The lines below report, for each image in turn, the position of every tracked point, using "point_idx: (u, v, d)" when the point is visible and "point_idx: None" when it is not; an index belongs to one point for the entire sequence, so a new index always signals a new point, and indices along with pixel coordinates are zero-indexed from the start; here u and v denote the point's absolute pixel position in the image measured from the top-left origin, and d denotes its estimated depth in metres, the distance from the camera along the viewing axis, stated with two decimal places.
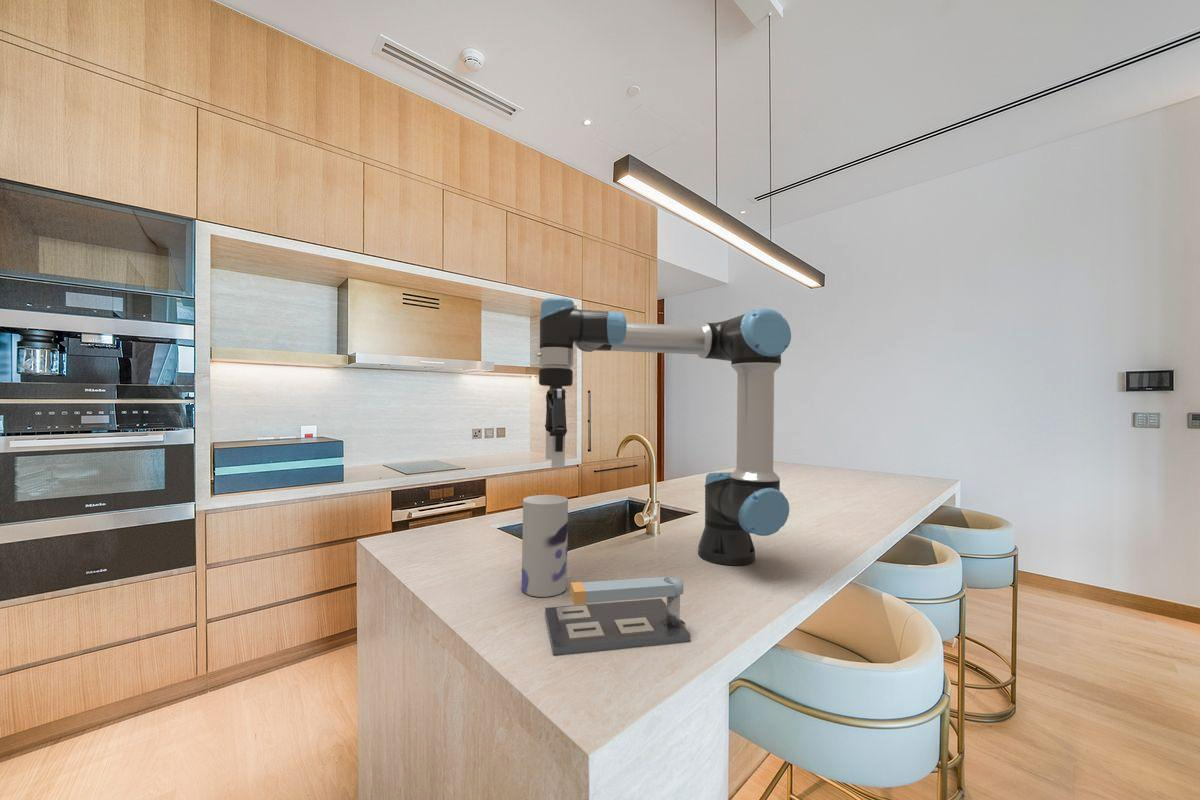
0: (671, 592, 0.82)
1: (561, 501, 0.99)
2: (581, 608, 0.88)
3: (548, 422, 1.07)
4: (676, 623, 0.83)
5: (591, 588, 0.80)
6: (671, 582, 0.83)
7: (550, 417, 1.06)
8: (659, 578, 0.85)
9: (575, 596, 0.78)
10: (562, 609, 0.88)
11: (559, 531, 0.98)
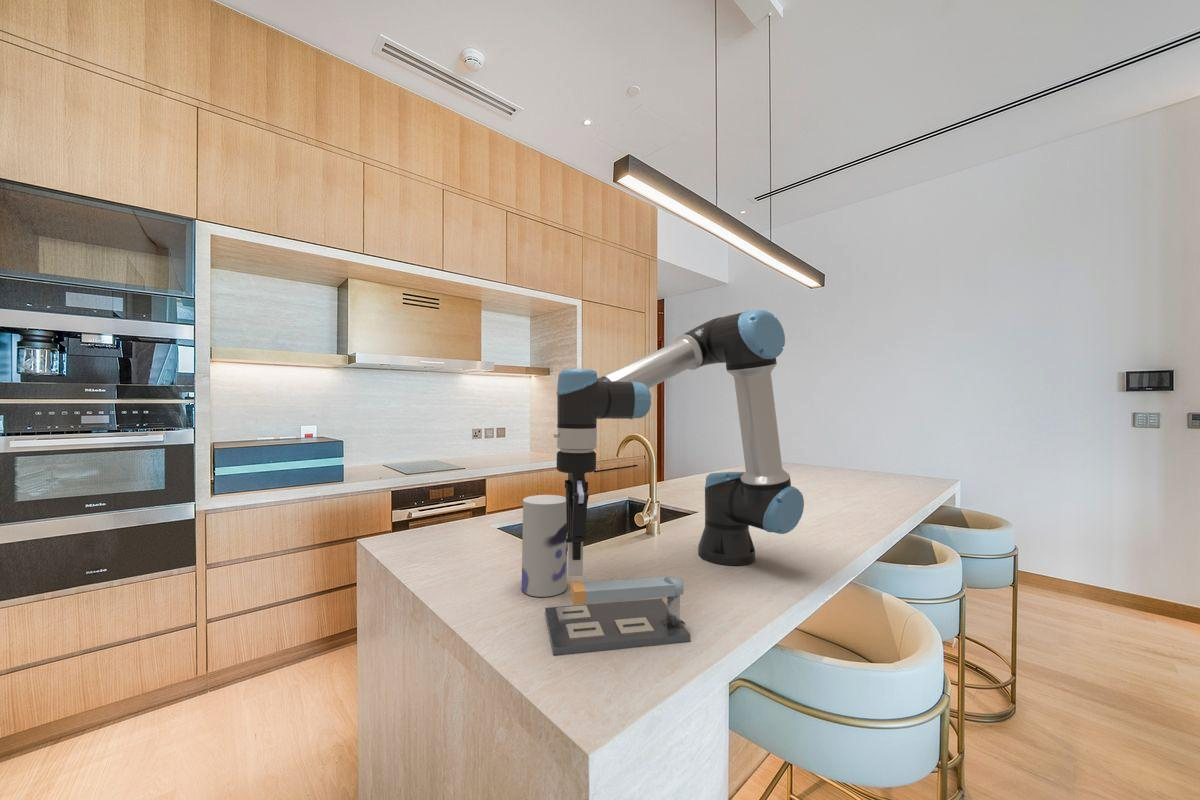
0: (671, 592, 0.82)
1: (561, 501, 0.99)
2: (581, 608, 0.88)
3: (570, 522, 0.87)
4: (676, 623, 0.83)
5: (591, 588, 0.80)
6: (671, 582, 0.83)
7: None
8: (659, 578, 0.85)
9: (575, 596, 0.78)
10: (562, 609, 0.88)
11: (559, 531, 0.98)
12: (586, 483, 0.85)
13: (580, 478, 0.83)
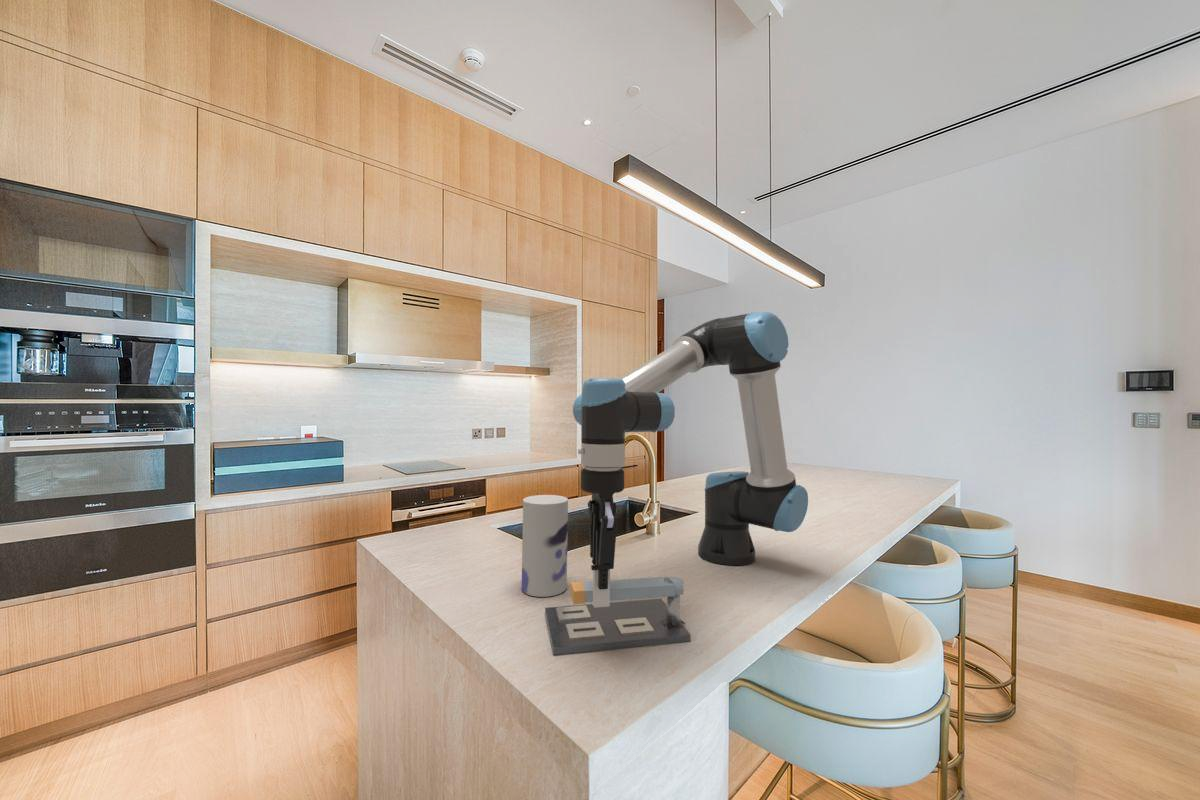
0: (671, 592, 0.82)
1: (561, 501, 0.99)
2: (581, 608, 0.88)
3: (595, 546, 0.79)
4: (676, 623, 0.83)
5: (591, 587, 0.80)
6: (671, 582, 0.83)
7: None
8: (659, 578, 0.85)
9: (575, 596, 0.78)
10: (562, 609, 0.88)
11: (559, 531, 0.98)
12: (614, 504, 0.77)
13: (608, 499, 0.75)
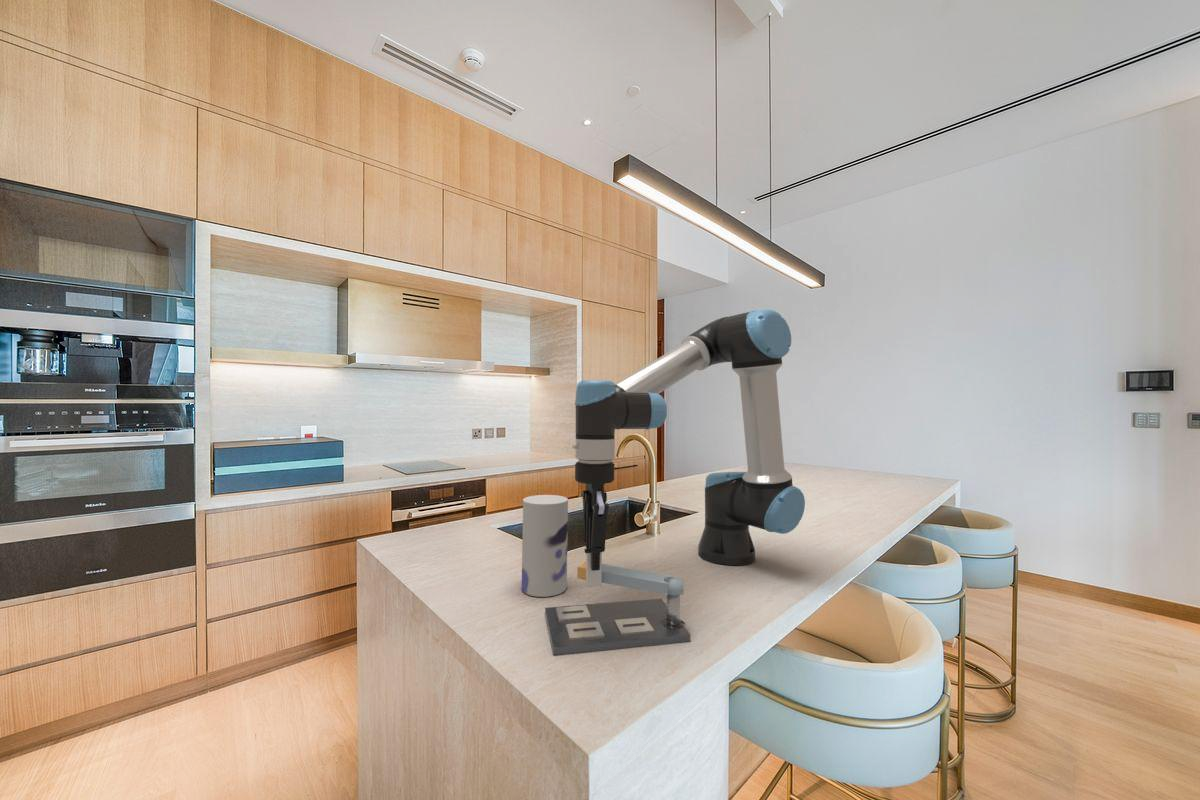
0: (664, 590, 0.82)
1: (561, 501, 0.99)
2: (581, 608, 0.88)
3: (588, 532, 0.87)
4: (676, 623, 0.83)
5: None
6: (667, 581, 0.83)
7: None
8: (663, 575, 0.86)
9: (578, 571, 0.90)
10: (562, 609, 0.88)
11: (559, 531, 0.98)
12: (605, 494, 0.86)
13: (599, 489, 0.83)
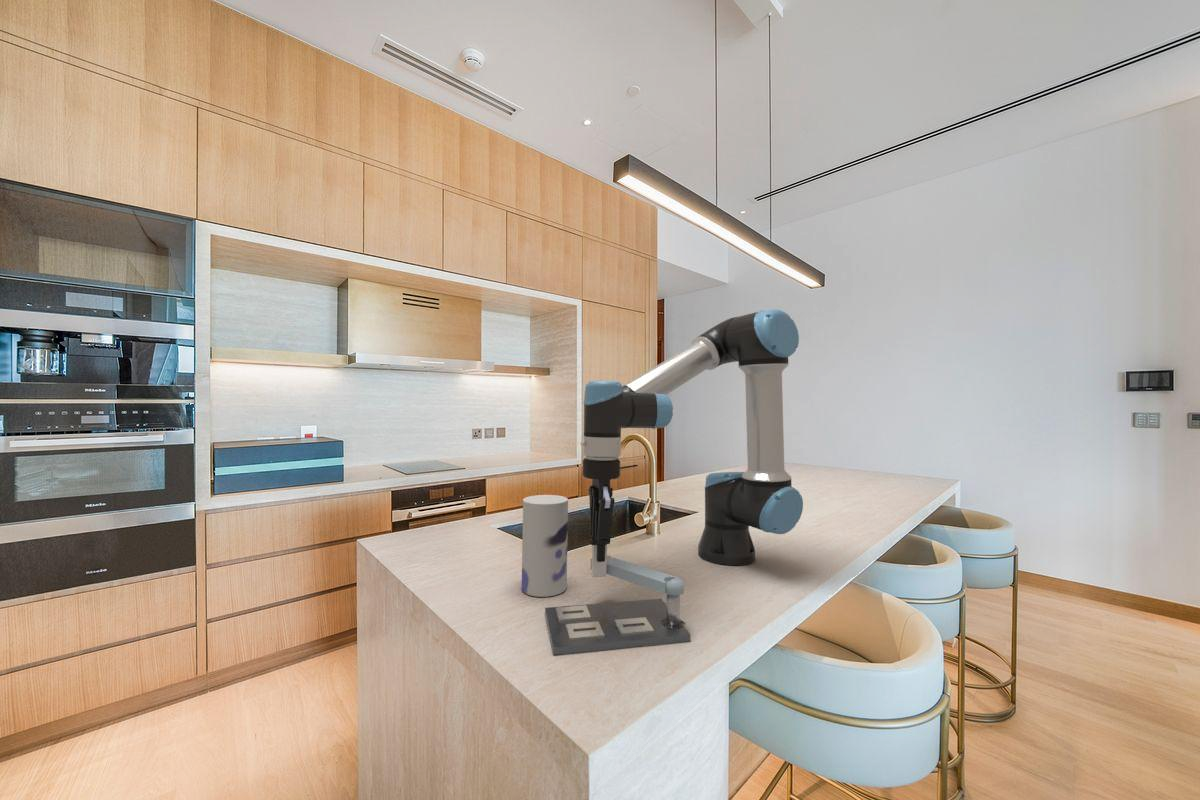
0: (662, 589, 0.83)
1: (561, 501, 0.99)
2: (581, 608, 0.88)
3: (594, 525, 0.92)
4: (676, 623, 0.83)
5: None
6: (666, 580, 0.84)
7: None
8: (667, 575, 0.86)
9: (591, 562, 0.94)
10: (562, 609, 0.88)
11: (559, 531, 0.98)
12: (611, 489, 0.90)
13: (606, 484, 0.88)
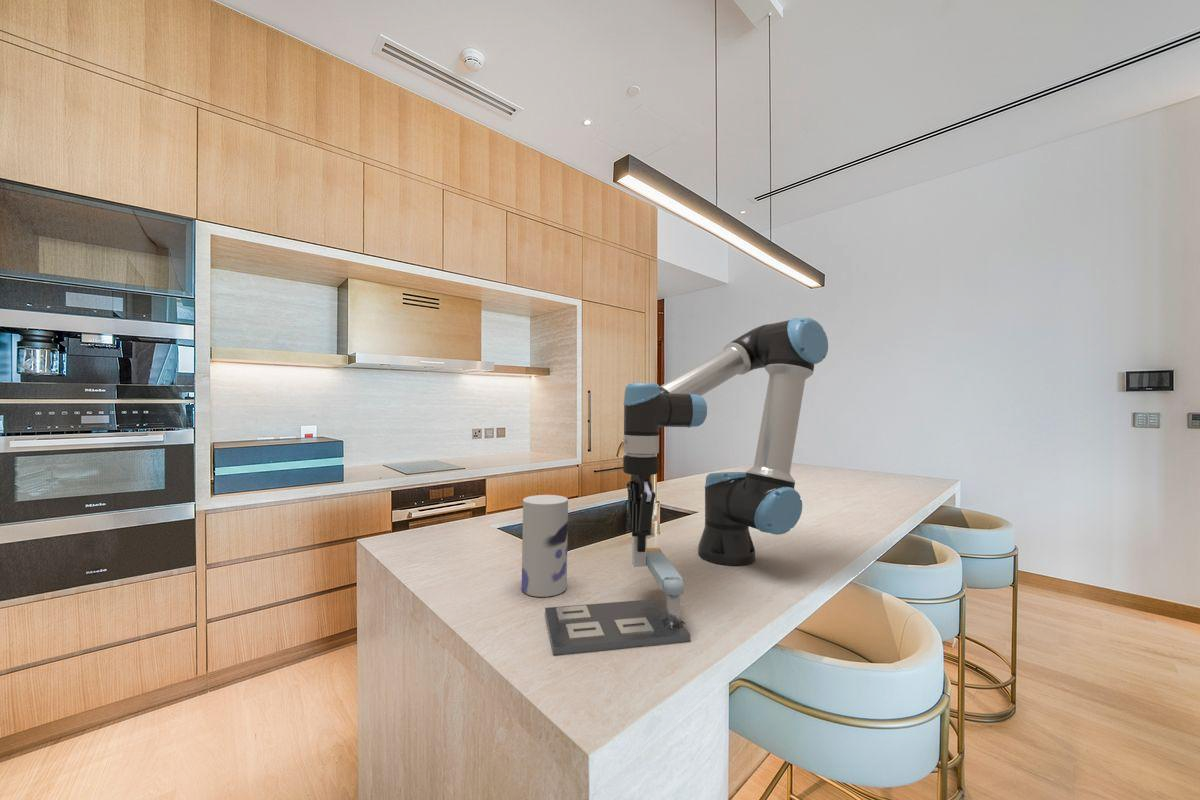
0: (661, 585, 0.85)
1: (561, 501, 0.99)
2: (581, 608, 0.88)
3: (634, 518, 0.98)
4: (676, 623, 0.83)
5: (649, 553, 0.99)
6: (667, 578, 0.84)
7: (636, 510, 0.98)
8: (677, 575, 0.86)
9: None
10: (562, 609, 0.88)
11: (559, 531, 0.98)
12: None
13: (646, 479, 0.94)
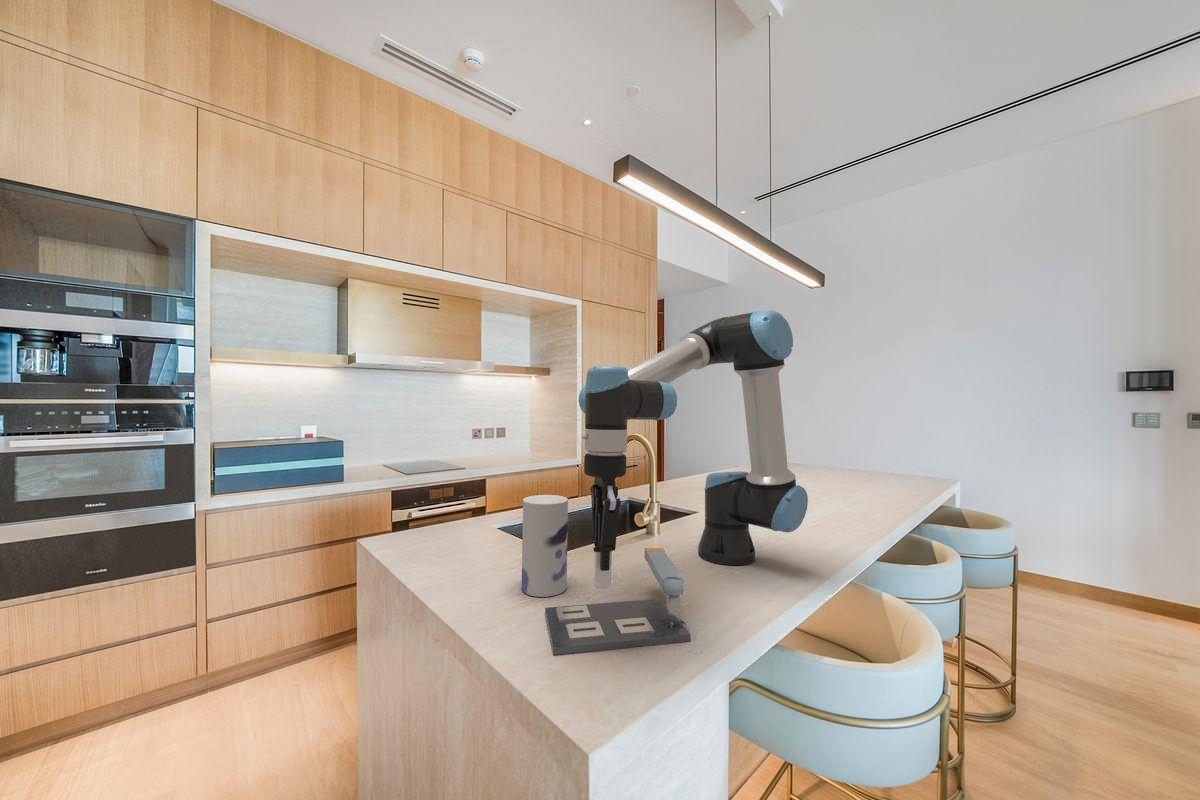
0: (661, 585, 0.85)
1: (561, 501, 0.99)
2: (581, 608, 0.88)
3: (597, 529, 0.81)
4: (676, 623, 0.83)
5: (652, 552, 0.99)
6: (667, 578, 0.85)
7: None
8: (677, 575, 0.86)
9: (644, 551, 1.02)
10: (562, 609, 0.88)
11: (559, 531, 0.98)
12: (616, 488, 0.80)
13: (611, 483, 0.77)
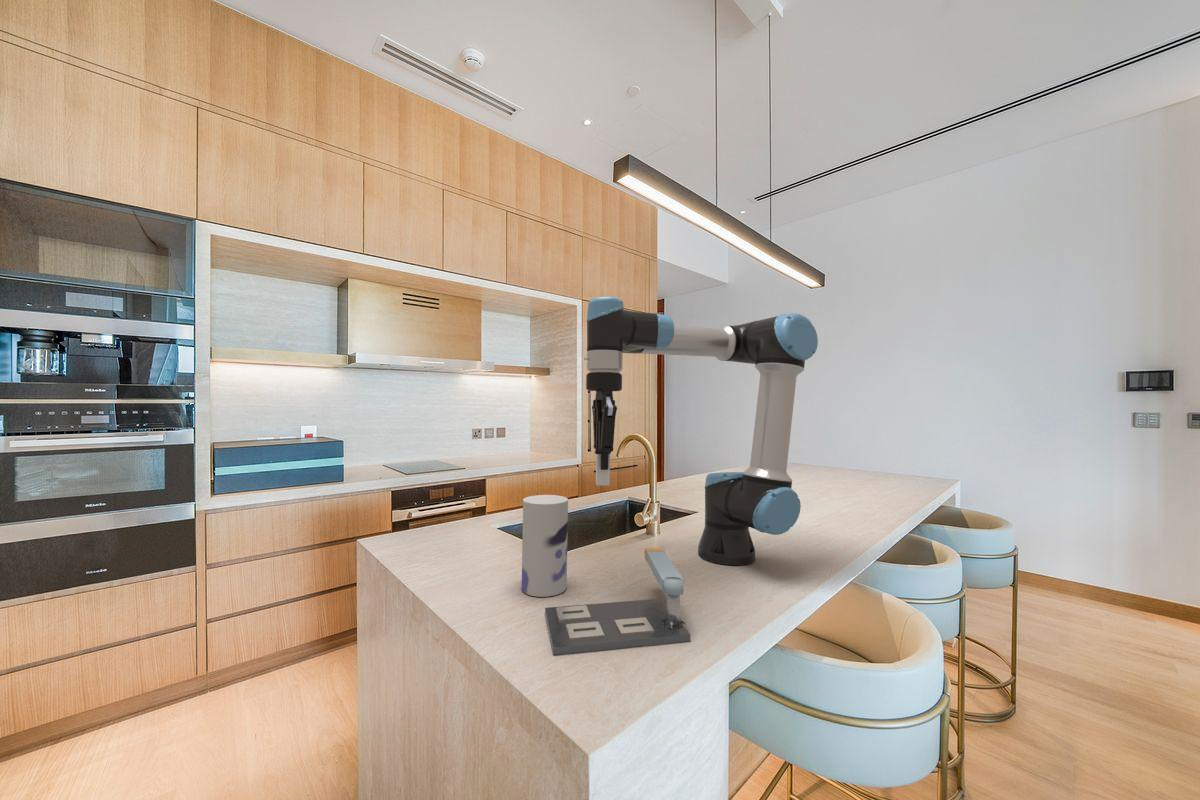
0: (661, 585, 0.85)
1: (561, 501, 0.99)
2: (581, 608, 0.88)
3: (598, 437, 0.96)
4: (676, 623, 0.83)
5: (652, 552, 0.99)
6: (667, 578, 0.85)
7: None
8: (677, 575, 0.86)
9: (644, 551, 1.02)
10: (562, 609, 0.88)
11: (559, 531, 0.98)
12: (613, 401, 0.94)
13: (609, 394, 0.92)
